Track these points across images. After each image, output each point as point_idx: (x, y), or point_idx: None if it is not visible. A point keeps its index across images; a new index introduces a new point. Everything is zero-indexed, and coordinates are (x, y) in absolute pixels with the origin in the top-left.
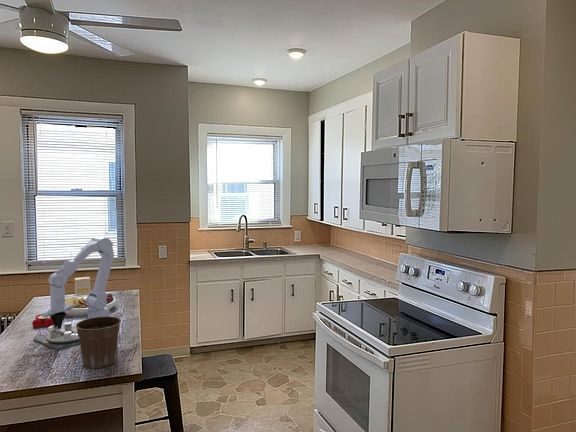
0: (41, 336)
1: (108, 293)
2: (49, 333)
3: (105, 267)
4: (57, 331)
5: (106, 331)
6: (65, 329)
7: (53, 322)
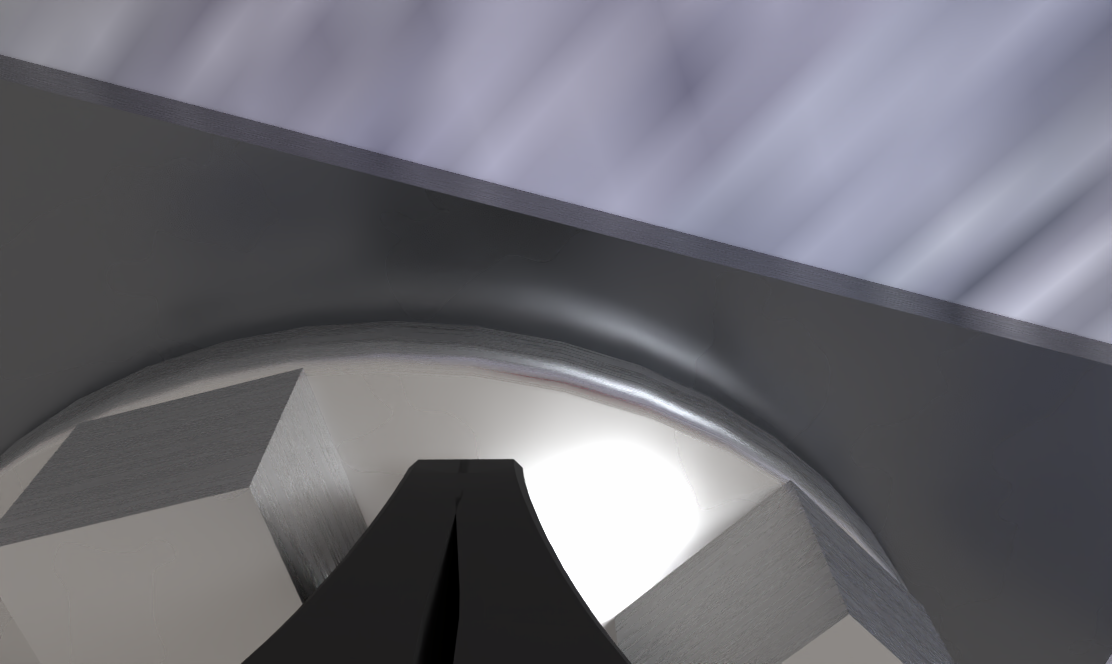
0: (37, 129)
1: None
2: None
3: None
4: None
5: None
6: (634, 632)
7: (300, 618)
